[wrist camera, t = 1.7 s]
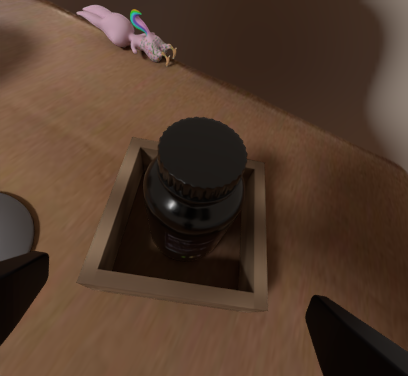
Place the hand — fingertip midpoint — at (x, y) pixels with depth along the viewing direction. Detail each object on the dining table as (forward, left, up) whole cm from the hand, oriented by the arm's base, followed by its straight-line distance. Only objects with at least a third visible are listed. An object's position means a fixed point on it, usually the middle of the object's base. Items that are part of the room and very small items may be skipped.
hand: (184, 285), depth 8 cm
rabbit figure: (+36, -9, -13) cm, 39 cm away
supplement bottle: (+6, -4, -13) cm, 15 cm away
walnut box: (+6, -4, -13) cm, 15 cm away
